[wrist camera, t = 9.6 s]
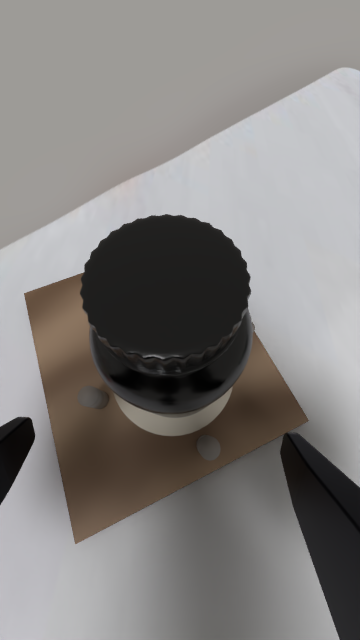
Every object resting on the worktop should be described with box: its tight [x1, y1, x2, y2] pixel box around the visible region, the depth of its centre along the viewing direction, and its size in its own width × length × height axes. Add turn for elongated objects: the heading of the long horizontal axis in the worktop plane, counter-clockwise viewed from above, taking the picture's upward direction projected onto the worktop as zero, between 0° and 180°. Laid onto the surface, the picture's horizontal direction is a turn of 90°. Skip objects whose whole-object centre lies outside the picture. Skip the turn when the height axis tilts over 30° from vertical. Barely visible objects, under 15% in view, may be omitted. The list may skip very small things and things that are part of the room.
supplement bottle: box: [80, 214, 253, 418], centre depth 12 cm, size 7×7×12 cm
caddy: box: [24, 273, 309, 544], centre depth 18 cm, size 18×16×3 cm
